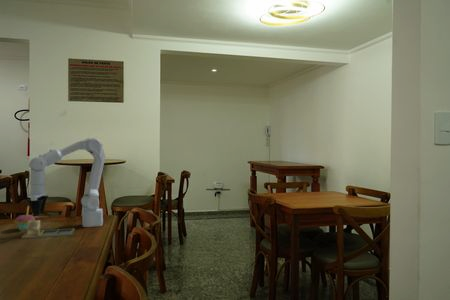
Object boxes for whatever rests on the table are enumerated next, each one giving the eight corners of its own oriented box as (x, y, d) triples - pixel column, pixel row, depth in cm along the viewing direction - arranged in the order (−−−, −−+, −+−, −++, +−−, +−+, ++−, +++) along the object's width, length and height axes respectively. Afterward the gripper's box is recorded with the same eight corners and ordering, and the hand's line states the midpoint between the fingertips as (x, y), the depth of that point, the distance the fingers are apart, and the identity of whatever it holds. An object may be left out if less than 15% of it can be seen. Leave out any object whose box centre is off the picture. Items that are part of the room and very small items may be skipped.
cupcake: (39, 227, 160) (38, 203, 160) (27, 231, 152) (27, 206, 151) (22, 227, 161) (22, 203, 160) (10, 231, 152) (9, 206, 152)
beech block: (40, 233, 146) (40, 220, 146) (37, 235, 143) (37, 222, 142) (30, 233, 145) (30, 220, 145) (27, 236, 141) (27, 222, 141)
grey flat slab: (75, 231, 153) (75, 228, 153) (71, 236, 144) (71, 233, 144) (27, 234, 147) (27, 231, 147) (20, 240, 138) (20, 237, 138)
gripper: (32, 182, 152) (33, 210, 152) (22, 186, 138) (23, 218, 138) (49, 181, 154) (50, 209, 154) (41, 185, 140) (41, 216, 140)
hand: (38, 213), depth 146 cm, fingers open, 7 cm apart
